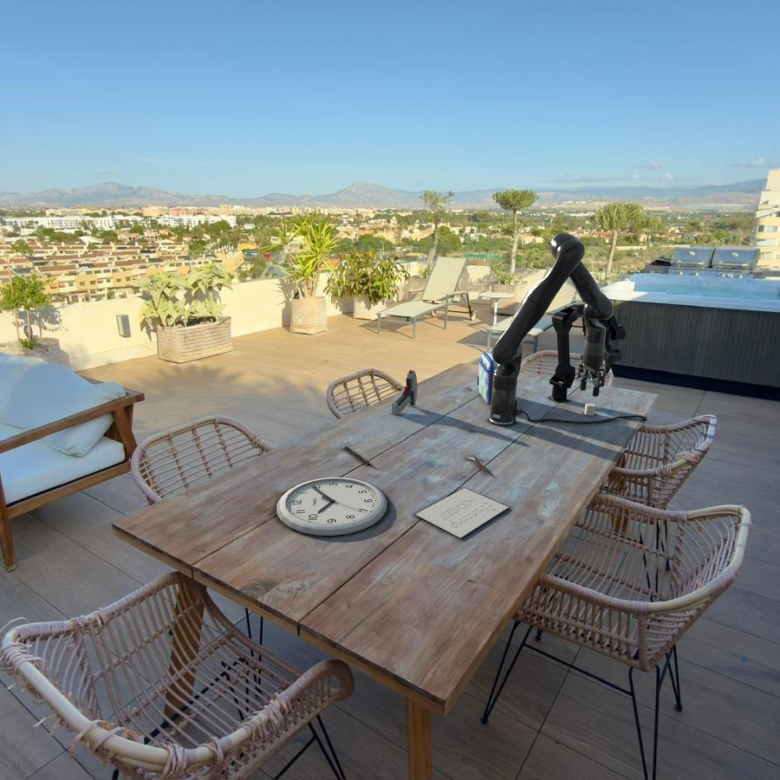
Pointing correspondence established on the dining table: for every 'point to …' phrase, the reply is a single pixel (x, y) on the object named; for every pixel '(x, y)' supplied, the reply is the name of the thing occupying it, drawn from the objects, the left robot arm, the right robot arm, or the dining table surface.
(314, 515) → the wall clock
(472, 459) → the fork
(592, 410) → the cream short cylinder
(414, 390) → the toy gun
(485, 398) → the lunch box
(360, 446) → the dining table surface
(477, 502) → the invitation card
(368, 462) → the brown thin stick
